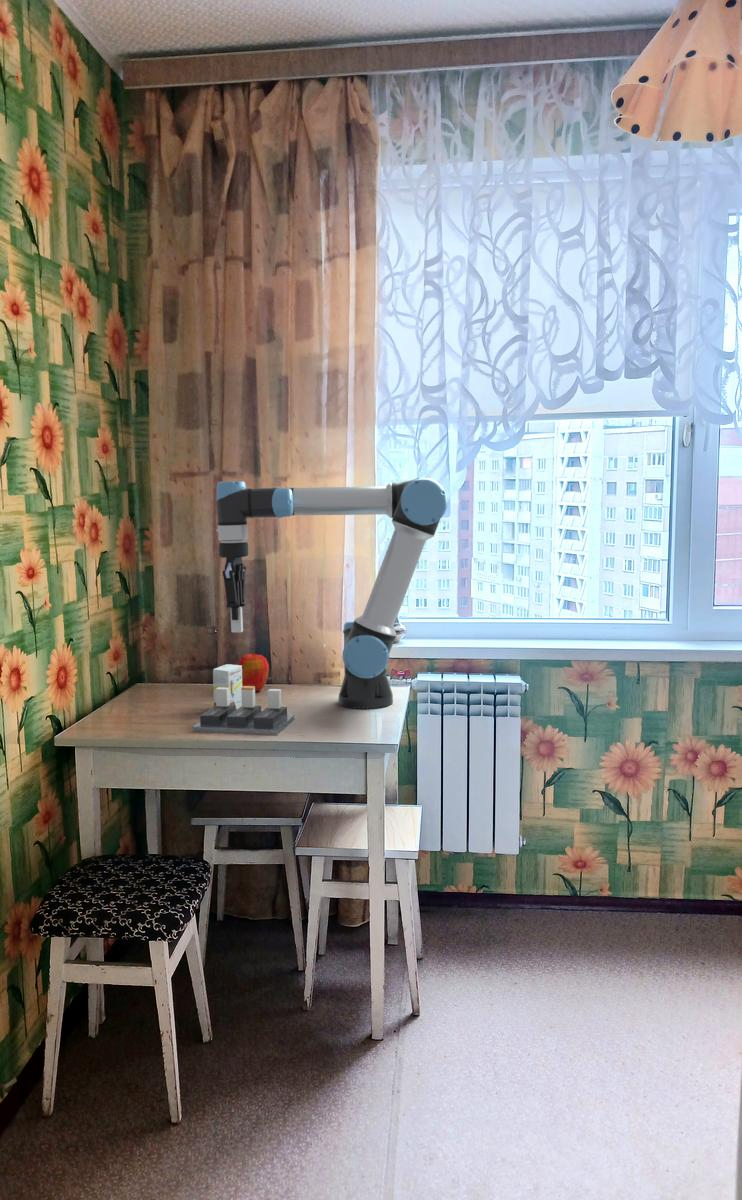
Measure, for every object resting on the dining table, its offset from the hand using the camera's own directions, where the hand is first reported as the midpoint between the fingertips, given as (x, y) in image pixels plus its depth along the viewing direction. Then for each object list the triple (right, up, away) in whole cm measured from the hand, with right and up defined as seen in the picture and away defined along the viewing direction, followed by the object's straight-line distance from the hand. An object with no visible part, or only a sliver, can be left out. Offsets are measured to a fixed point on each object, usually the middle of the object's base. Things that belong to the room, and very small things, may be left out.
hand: (237, 631), depth 238 cm
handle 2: (+10, -19, -5) cm, 22 cm away
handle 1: (-3, -19, -2) cm, 19 cm away
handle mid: (+3, -19, -3) cm, 20 cm away
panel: (+3, -24, -6) cm, 24 cm away
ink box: (-4, -22, +11) cm, 25 cm away
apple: (0, -19, +33) cm, 38 cm away
